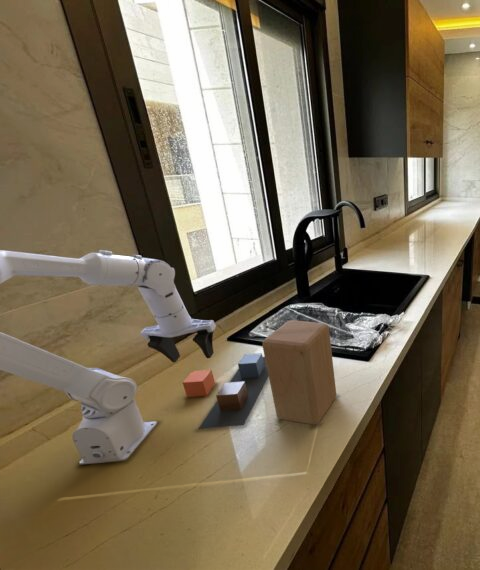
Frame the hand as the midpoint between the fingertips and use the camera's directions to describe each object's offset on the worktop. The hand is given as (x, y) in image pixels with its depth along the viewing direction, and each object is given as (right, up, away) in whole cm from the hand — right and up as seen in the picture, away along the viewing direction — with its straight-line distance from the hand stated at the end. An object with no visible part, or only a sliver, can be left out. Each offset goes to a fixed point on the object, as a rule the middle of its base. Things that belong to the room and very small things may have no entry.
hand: (193, 357), depth 77 cm
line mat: (+10, -8, +4) cm, 14 cm away
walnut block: (+11, -10, -2) cm, 15 cm away
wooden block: (+28, -11, -3) cm, 31 cm away
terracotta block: (0, -9, +2) cm, 9 cm away
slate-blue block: (+10, -6, +9) cm, 14 cm away
